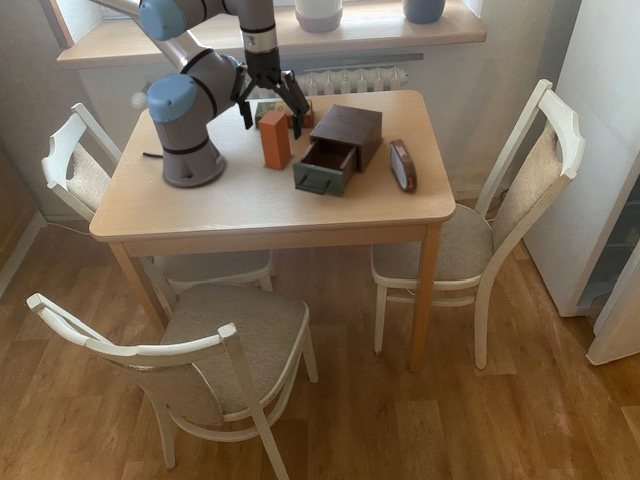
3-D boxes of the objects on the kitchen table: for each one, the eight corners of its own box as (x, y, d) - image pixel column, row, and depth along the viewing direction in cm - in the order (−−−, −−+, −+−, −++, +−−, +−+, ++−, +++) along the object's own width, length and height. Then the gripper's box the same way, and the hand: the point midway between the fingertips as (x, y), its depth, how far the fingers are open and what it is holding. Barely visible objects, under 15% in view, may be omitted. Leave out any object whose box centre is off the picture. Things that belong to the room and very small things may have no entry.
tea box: (281, 169, 121) (274, 125, 111) (265, 166, 122) (257, 122, 113) (291, 156, 124) (285, 112, 115) (276, 153, 126) (269, 109, 117)
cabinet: (361, 172, 118) (361, 145, 112) (311, 161, 122) (309, 135, 116) (381, 139, 128) (382, 112, 122) (334, 130, 132) (333, 104, 126)
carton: (311, 127, 134) (310, 113, 131) (255, 129, 135) (253, 116, 132) (312, 111, 140) (311, 98, 137) (259, 114, 141) (256, 101, 138)
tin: (417, 197, 110) (420, 167, 104) (403, 199, 110) (406, 169, 104) (399, 159, 120) (400, 131, 114) (386, 161, 120) (388, 133, 114)
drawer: (334, 209, 107) (333, 187, 103) (286, 197, 111) (283, 176, 107) (363, 161, 119) (363, 140, 115) (318, 152, 123) (317, 131, 119)
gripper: (203, 47, 104) (222, 130, 119) (306, 62, 96) (313, 149, 111) (221, 33, 108) (237, 115, 123) (320, 46, 100) (325, 132, 115)
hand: (273, 132), depth 117 cm, fingers open, 13 cm apart
